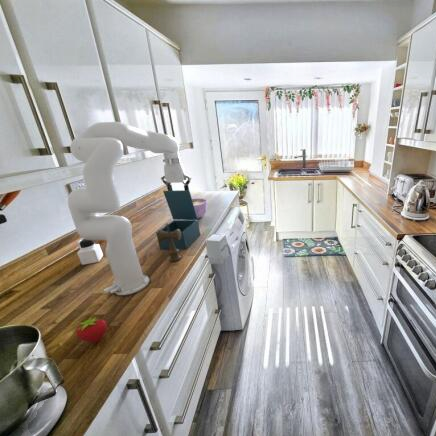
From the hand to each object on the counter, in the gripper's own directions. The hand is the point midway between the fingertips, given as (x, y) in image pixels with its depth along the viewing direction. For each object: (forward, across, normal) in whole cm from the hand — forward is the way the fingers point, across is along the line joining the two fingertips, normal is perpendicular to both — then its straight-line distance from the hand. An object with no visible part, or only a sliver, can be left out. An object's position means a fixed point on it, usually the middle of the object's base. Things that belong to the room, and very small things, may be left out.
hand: (178, 191), depth 136 cm
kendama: (+28, +7, -27) cm, 40 cm away
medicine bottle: (+28, -36, -29) cm, 54 cm away
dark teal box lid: (+8, 0, -1) cm, 8 cm away
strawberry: (+29, +9, -76) cm, 82 cm away
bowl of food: (+27, -10, +32) cm, 43 cm away
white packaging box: (+28, +30, -28) cm, 50 cm away
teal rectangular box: (+28, 0, -7) cm, 29 cm away
